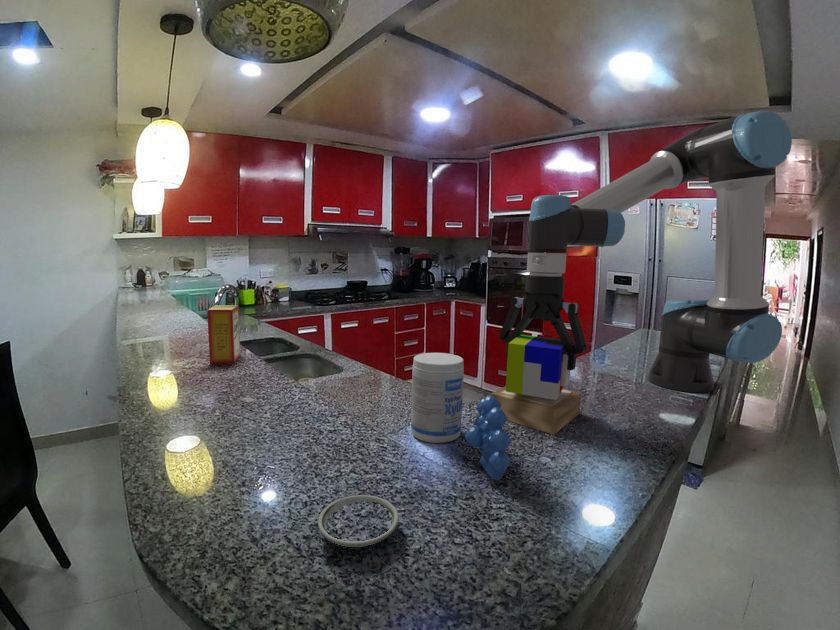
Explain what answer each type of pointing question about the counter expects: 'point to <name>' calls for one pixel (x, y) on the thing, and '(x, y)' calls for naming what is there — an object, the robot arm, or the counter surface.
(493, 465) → the grapes
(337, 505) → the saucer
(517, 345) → the puzzle toy
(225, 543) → the counter surface
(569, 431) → the counter surface
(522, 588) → the counter surface
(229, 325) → the baking soda box
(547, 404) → the oak picture frame
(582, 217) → the robot arm
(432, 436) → the supplement tub
